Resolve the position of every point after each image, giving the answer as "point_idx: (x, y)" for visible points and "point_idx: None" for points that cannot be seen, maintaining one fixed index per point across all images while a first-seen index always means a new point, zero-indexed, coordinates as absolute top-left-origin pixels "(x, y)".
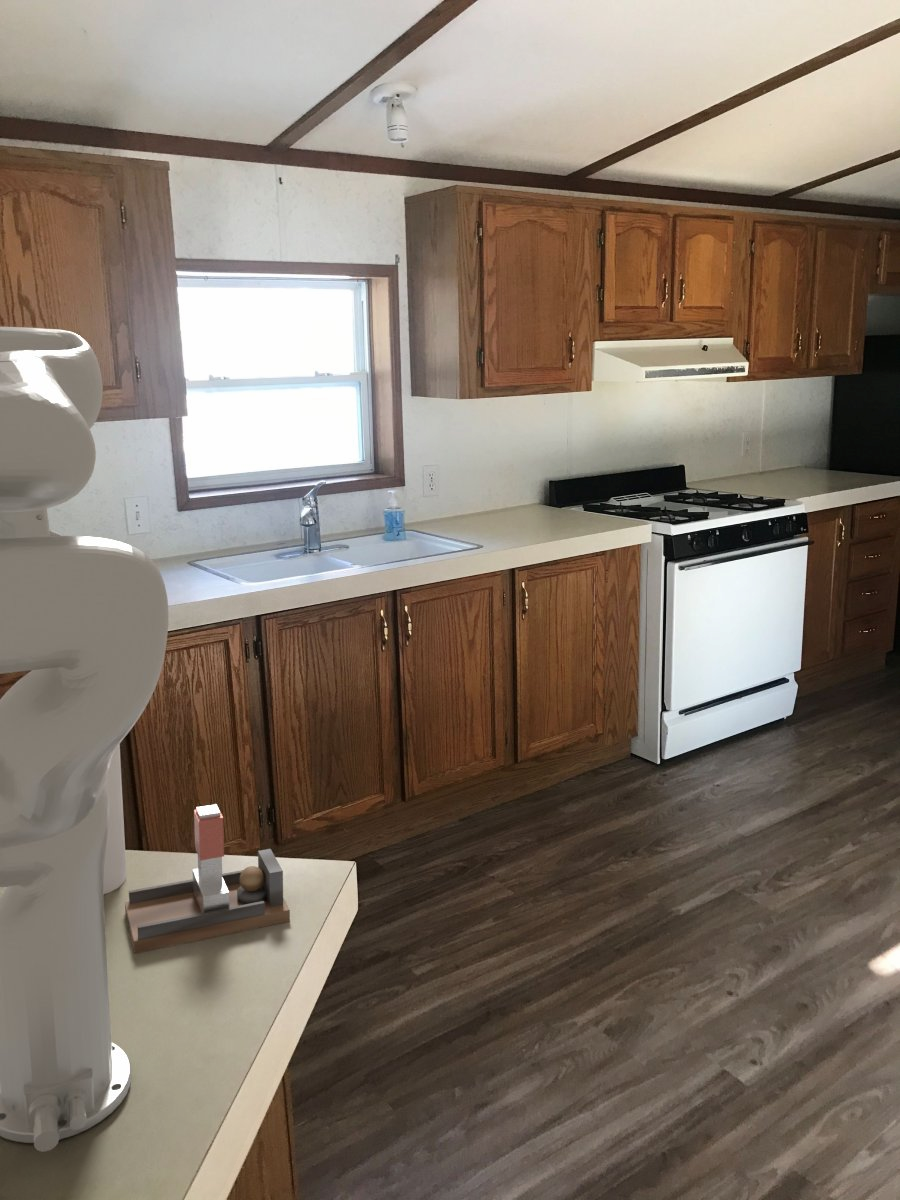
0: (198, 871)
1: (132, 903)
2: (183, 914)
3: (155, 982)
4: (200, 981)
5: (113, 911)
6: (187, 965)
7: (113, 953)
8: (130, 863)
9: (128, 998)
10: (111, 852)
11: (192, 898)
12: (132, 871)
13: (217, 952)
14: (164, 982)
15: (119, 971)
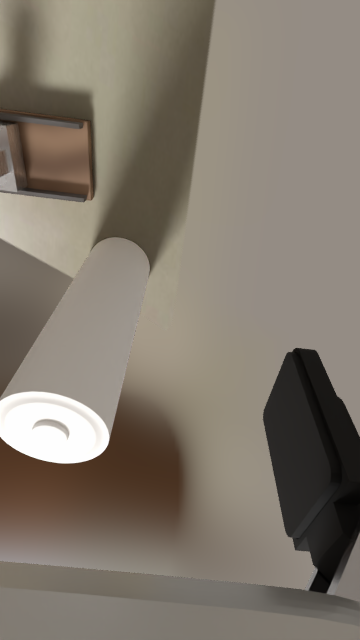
0: (7, 171)
1: (84, 194)
2: (38, 149)
3: (74, 51)
4: (30, 25)
5: (103, 206)
6: (42, 67)
7: (108, 131)
8: None
9: (101, 33)
10: (91, 256)
11: (29, 176)
12: None
13: (12, 77)
14: (66, 45)
15: (106, 94)
